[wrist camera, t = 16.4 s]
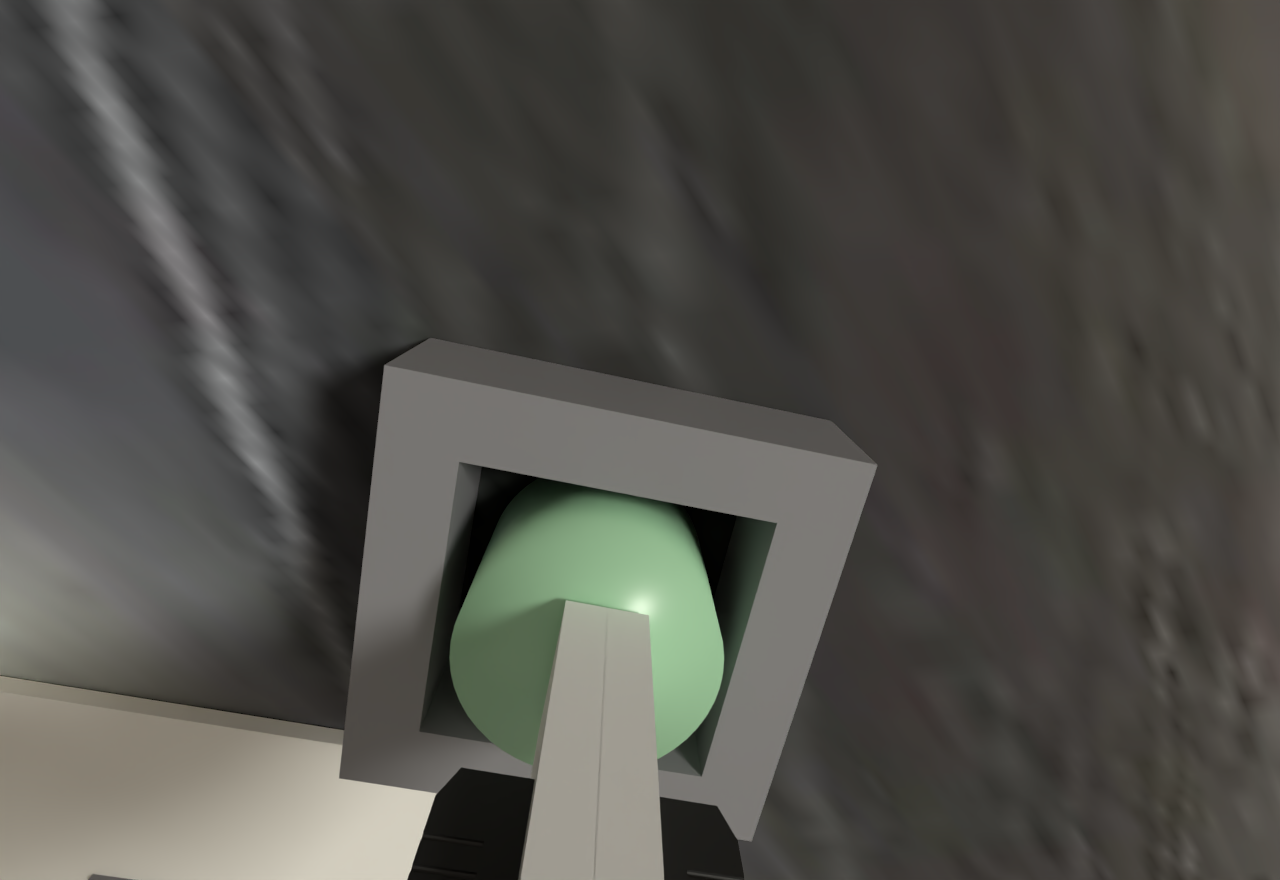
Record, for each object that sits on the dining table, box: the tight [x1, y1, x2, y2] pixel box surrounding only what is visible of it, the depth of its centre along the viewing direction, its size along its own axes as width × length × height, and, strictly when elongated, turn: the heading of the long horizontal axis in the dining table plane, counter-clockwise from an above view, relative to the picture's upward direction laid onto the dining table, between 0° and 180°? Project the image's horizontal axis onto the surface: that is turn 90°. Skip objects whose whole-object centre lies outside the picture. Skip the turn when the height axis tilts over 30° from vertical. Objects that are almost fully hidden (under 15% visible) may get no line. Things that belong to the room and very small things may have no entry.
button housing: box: [339, 338, 877, 841], centre depth 15 cm, size 9×9×3 cm
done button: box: [449, 477, 724, 766], centre depth 15 cm, size 5×5×4 cm
